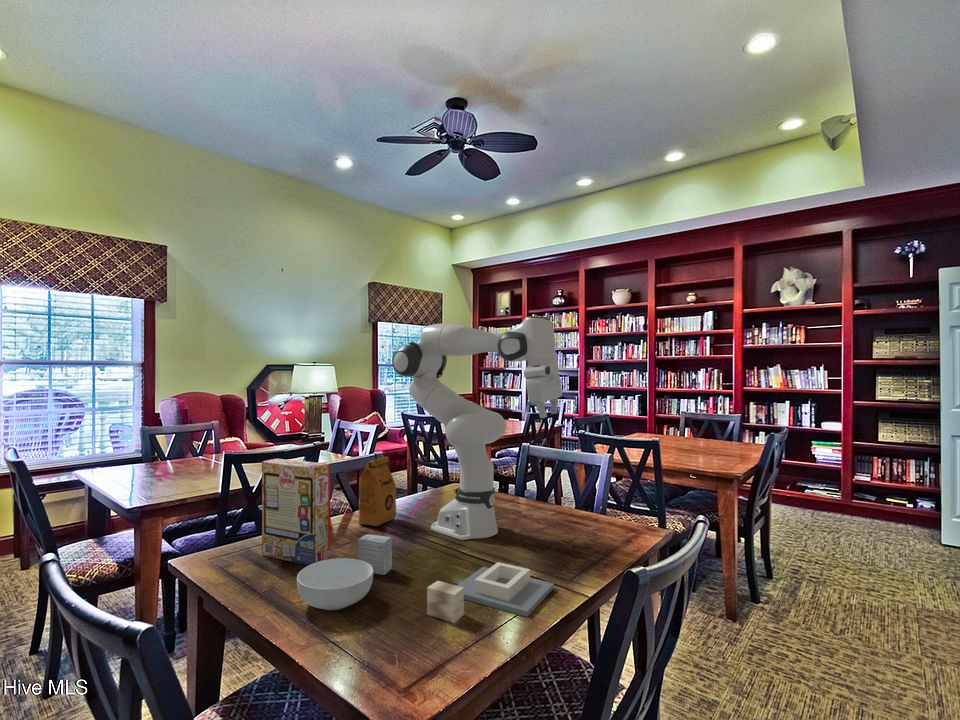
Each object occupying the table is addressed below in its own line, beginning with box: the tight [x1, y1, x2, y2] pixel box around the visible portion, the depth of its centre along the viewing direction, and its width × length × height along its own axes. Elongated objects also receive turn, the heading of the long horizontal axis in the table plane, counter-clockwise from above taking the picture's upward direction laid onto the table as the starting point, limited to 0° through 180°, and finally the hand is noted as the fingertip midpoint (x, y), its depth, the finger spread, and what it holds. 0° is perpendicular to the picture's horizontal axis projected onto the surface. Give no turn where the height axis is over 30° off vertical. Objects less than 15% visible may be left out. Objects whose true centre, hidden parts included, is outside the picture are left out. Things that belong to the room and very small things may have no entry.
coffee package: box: [358, 456, 397, 527], centre depth 173 cm, size 10×12×22 cm
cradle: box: [456, 561, 555, 618], centre depth 121 cm, size 20×16×4 cm
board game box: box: [261, 458, 331, 566], centre depth 141 cm, size 20×6×27 cm, turn 65°
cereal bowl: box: [296, 557, 374, 611], centre depth 116 cm, size 17×17×7 cm
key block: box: [426, 580, 465, 624], centre depth 110 cm, size 7×4×6 cm, turn 60°
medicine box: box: [357, 533, 393, 576], centre depth 133 cm, size 8×4×9 cm, turn 71°
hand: (548, 415), depth 149 cm, fingers open, 8 cm apart
